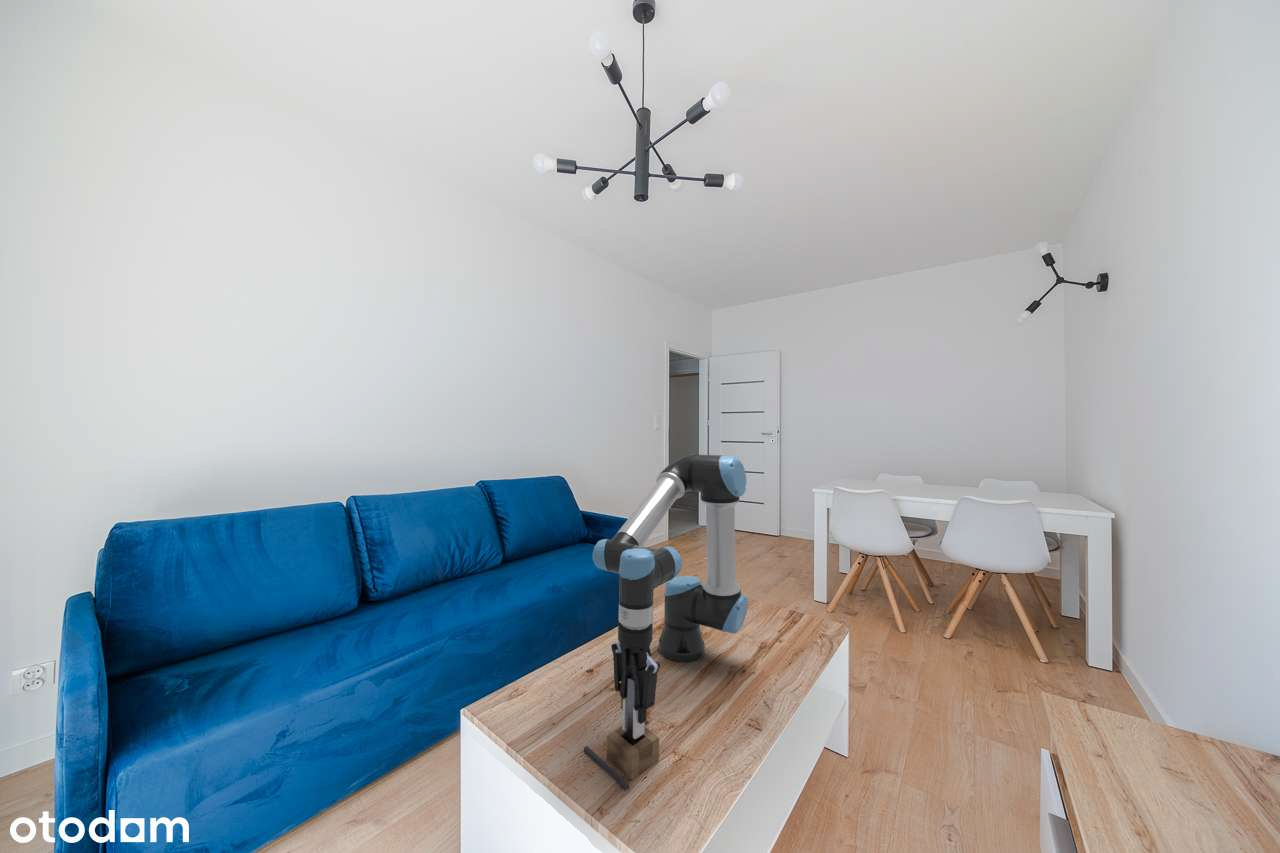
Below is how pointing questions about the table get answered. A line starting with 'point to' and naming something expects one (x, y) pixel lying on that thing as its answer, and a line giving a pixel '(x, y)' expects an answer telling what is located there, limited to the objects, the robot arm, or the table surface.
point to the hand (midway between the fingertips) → (633, 731)
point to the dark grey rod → (606, 768)
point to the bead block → (632, 752)
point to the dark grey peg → (631, 709)
